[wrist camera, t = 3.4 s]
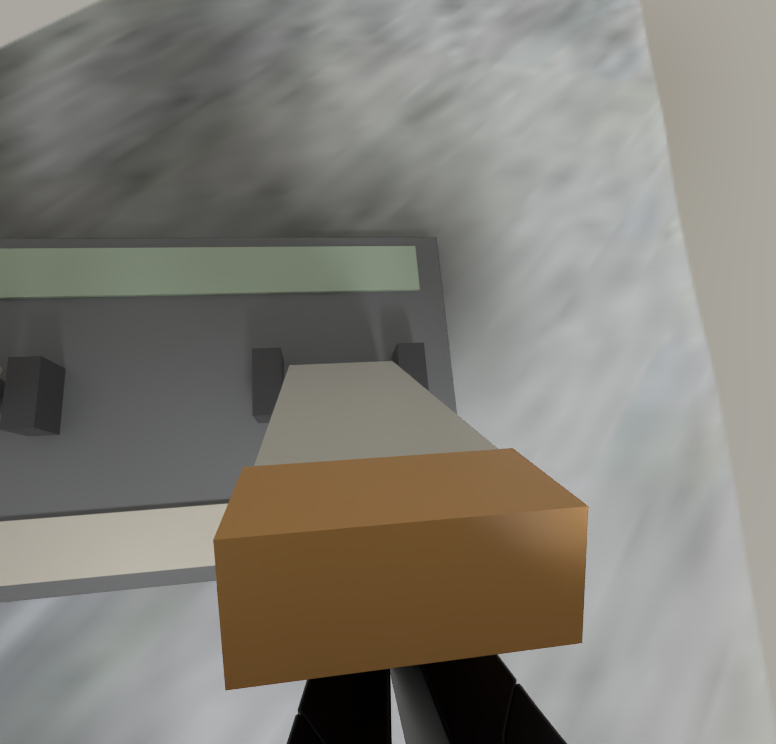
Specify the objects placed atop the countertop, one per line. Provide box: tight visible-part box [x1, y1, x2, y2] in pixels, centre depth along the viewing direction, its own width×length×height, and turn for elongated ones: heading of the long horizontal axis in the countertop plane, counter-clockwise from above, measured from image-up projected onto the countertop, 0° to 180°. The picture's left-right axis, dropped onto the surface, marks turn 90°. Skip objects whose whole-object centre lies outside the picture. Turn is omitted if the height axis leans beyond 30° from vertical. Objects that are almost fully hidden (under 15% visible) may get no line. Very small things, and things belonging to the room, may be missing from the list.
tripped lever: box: [213, 361, 588, 690], centre depth 12 cm, size 2×4×14 cm, turn 94°
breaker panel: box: [0, 237, 457, 602], centre depth 18 cm, size 13×22×2 cm, turn 94°
